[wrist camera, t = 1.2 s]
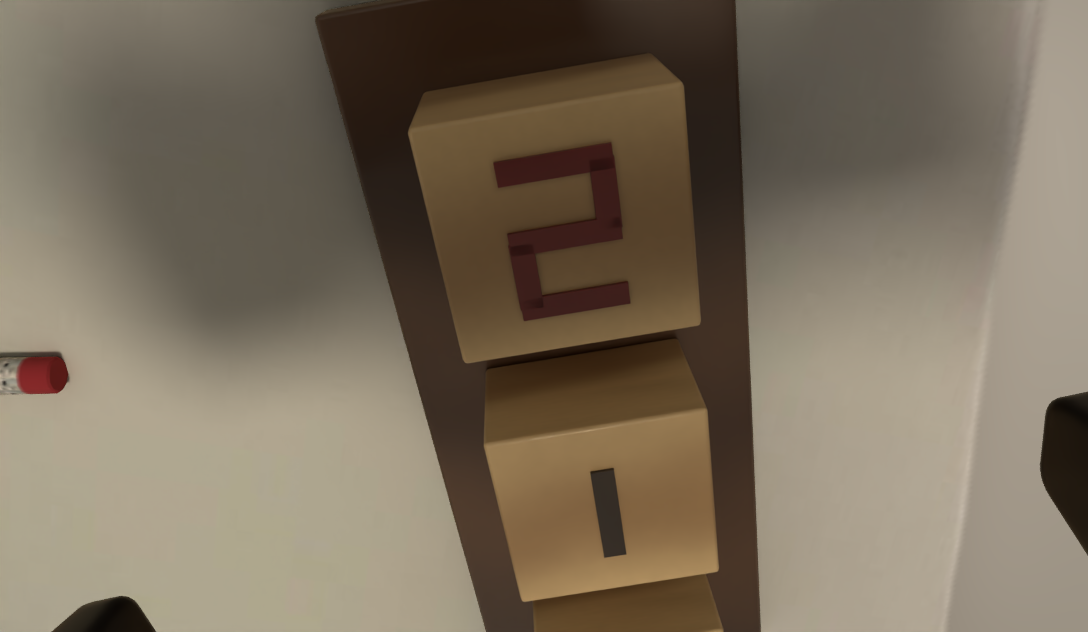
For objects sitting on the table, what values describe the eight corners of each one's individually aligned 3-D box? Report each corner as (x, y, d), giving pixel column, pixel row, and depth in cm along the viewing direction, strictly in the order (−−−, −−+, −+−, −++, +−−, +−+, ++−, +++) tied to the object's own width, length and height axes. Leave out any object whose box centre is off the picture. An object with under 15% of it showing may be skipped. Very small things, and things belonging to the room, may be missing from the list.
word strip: (323, 9, 16) (269, 39, 12) (720, -62, 15) (789, -52, 12) (504, 671, 25) (505, 801, 21) (753, 633, 25) (797, 757, 21)
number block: (421, 92, 15) (404, 130, 13) (652, 51, 15) (685, 81, 13) (468, 296, 18) (463, 368, 15) (671, 263, 17) (703, 328, 15)
